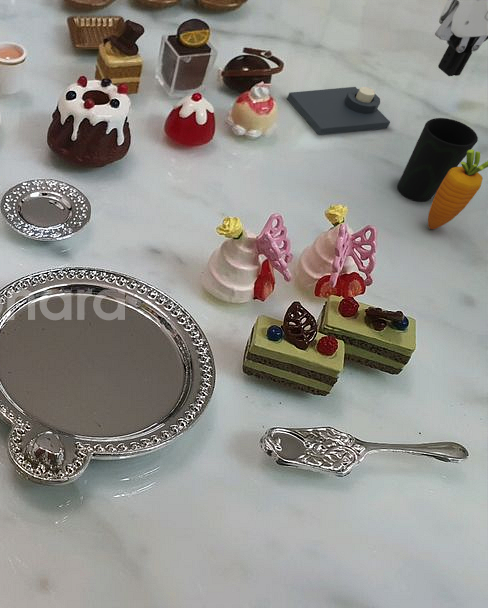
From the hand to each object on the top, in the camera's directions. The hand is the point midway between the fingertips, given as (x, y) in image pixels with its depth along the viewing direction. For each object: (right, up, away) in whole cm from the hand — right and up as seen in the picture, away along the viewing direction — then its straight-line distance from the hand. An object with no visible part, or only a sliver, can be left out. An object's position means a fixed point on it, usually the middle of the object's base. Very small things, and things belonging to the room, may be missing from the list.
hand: (448, 71), depth 118 cm
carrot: (-1, -25, +3) cm, 25 cm away
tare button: (0, +2, +23) cm, 23 cm away
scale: (-5, 0, +24) cm, 25 cm away
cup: (0, -18, +9) cm, 20 cm away
